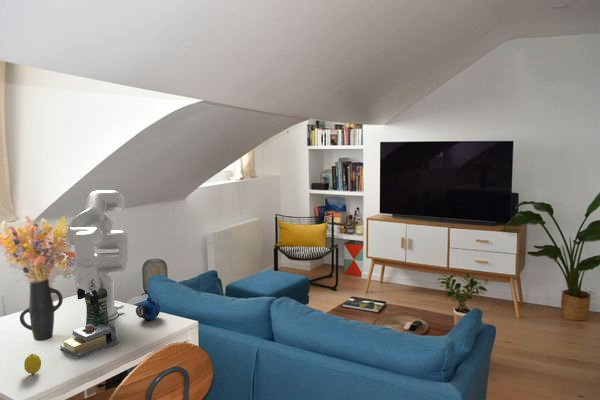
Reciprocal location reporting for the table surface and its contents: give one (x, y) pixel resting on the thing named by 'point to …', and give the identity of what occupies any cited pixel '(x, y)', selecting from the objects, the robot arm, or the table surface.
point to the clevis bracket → (91, 340)
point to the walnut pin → (88, 328)
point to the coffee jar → (97, 308)
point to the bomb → (148, 309)
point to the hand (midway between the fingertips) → (87, 301)
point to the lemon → (32, 363)
